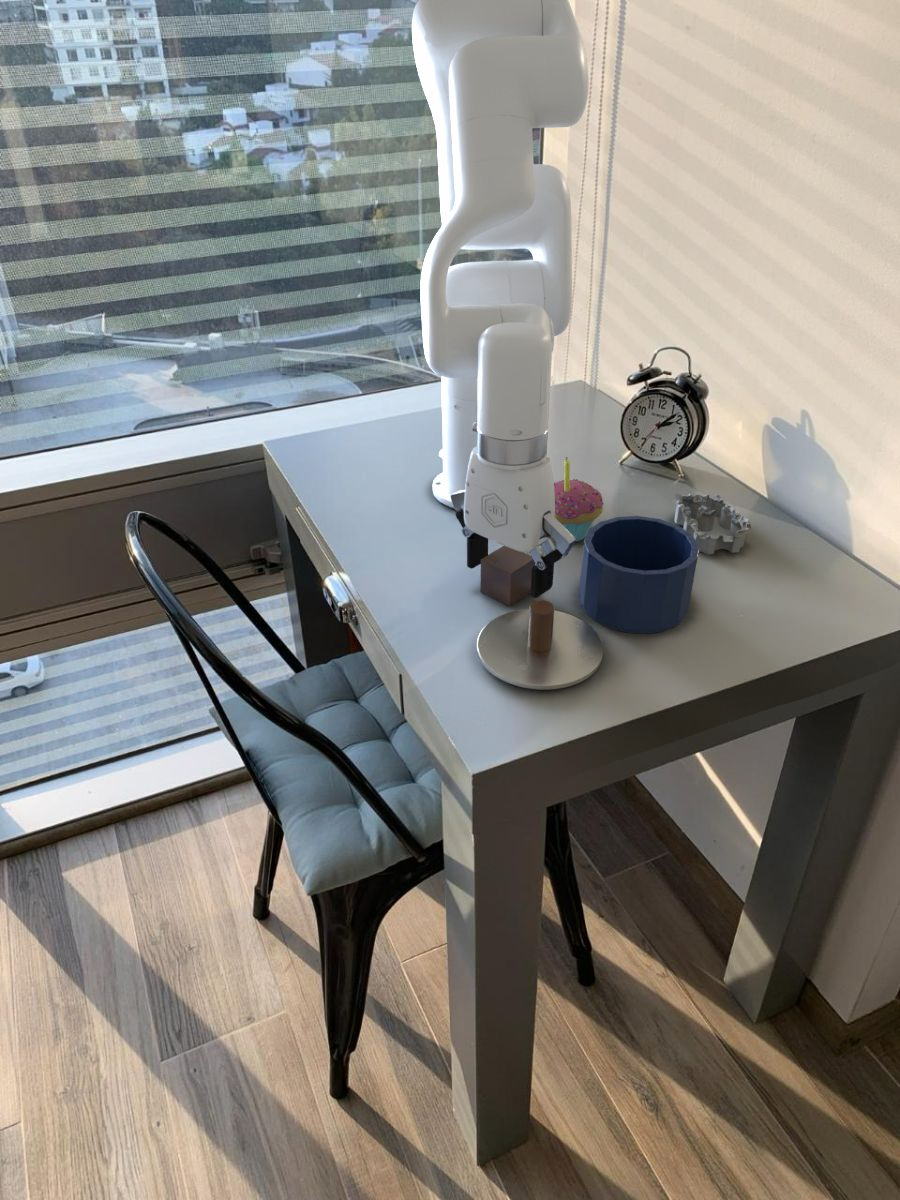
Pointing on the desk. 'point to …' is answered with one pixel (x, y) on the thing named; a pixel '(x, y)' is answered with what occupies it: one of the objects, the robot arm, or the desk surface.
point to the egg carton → (711, 522)
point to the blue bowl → (637, 574)
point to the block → (506, 575)
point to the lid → (540, 648)
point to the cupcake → (576, 504)
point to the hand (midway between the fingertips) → (508, 577)
